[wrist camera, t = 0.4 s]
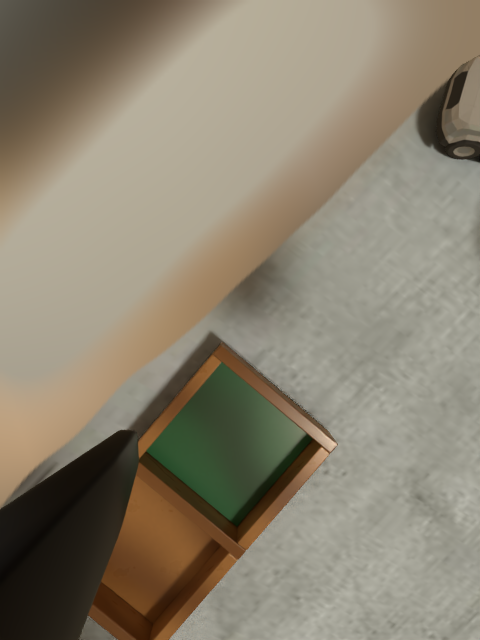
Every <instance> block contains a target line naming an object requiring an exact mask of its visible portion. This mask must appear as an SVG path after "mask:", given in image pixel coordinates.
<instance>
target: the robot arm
mask: <svg viewBox="0 0 480 640" xmlns="http://www.w3.org/2000/svg"><path fill="white" fill-rule="evenodd" d="M138 464H139V451H138V437H137V433H136V431H134V430H119V431H118V432H116V433H114V434H113V435H111V436H110V437H108V438H107V439H105V440H104V441H102V442H101V443H99V444H98V445H96V446H95V447H93V448H92V449H90V450H89V451H87V452H86V453H84V454H83V455H81V456H80V457H78V458H77V459H75V460H74V461H72V462H71V463H69V464H68V465H66V466H65V467H63V468H62V469H60V470H59V471H57V472H56V473H54V474H53V475H51V476H50V477H48V478H47V479H45V480H44V481H42V482H41V483H39V484H38V485H36V486H35V487H33V488H32V489H30V490H29V491H27V492H26V493H24V494H23V495H21V496H20V497H18V498H17V499H15V500H14V501H12V502H11V503H9V504H8V505H6V506H4V507H3V508H1V509H0V640H79V637H80V634H81V632H82V629H83V627H84V624H85V622H86V619H87V616H88V614H89V611H90V609H91V606H92V603H93V601H94V598H95V596H96V593H97V590H98V588H99V585H100V583H101V580H102V578H103V575H104V572H105V570H106V567H107V565H108V562H109V559H110V557H111V554H112V552H113V549H114V547H115V544H116V541H117V539H118V536H119V533H120V530H121V528H122V524H123V521H124V517H125V514H126V510H127V506H128V503H129V499H130V495H131V491H132V488H133V484H134V480H135V477H136V473H137V469H138Z"/></svg>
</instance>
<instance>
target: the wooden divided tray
mask: <svg viewBox="0 0 480 640" xmlns="http://www.w3.org/2000/svg"><path fill="white" fill-rule="evenodd" d="M337 445H338V444H337V442H336V441H335V440H334V438H333V437H332V436H331V434H330V433H329V432H328V431H327V430H326V429H325V428H324V427H322V426H321V425H320V424H319V423H318V422H317V421H315V420H314V419H313V418H312V417H311V416H309V415H308V414H307V413H306V412H305V411H304V410H302V409H301V408H300V407H299V406H298V405H296V404H295V403H294V402H293V401H292V400H291V399H289V398H288V397H287V396H286V395H285V394H283V393H282V392H281V391H280V390H279V389H278V388H276V387H275V386H274V385H273V384H272V383H270V382H269V381H268V380H267V379H266V378H265V377H263V376H262V375H261V374H260V373H259V372H257V371H256V370H255V369H254V368H253V367H252V366H250V365H249V364H248V363H247V362H246V361H244V360H243V359H242V358H241V357H240V356H239V355H237V354H236V353H235V352H234V351H233V350H232V349H230V348H229V347H228V346H227V345H226V344H224V343H223V342H221V343H220V345H219V346H218V347H217V348H216V349H215V350H214V352H213V353H212V354H211V355H210V356H209V358H208V359H207V360H206V361H205V362H204V363H203V365H202V366H201V367H200V368H199V369H198V370H197V372H196V373H195V374H194V375H193V376H192V378H191V379H190V380H189V381H188V382H187V383H186V385H185V386H184V387H183V388H182V389H181V390H180V392H179V393H178V394H177V395H176V396H175V397H174V399H173V400H172V401H171V402H170V403H169V405H168V406H167V407H166V408H165V409H164V410H163V412H162V413H161V414H160V415H159V416H158V417H157V419H156V420H155V421H154V422H153V423H152V424H151V426H150V427H149V428H148V429H147V430H146V432H145V433H144V434H143V435H142V436H141V437H140V439H139V440H138V451H139V464H138V469H137V473H136V477H135V480H134V484H133V488H132V491H131V495H130V499H129V503H128V506H127V510H126V514H125V517H124V521H123V524H122V528H121V530H120V533H119V536H118V539H117V541H116V544H115V547H114V549H113V552H112V554H111V557H110V559H109V562H108V565H107V567H106V570H105V572H104V575H103V578H102V580H101V583H100V585H99V588H98V590H97V593H96V596H95V598H94V601H93V603H92V606H91V609H90V611H89V614H88V616H89V617H91V618H92V619H93V620H94V621H96V622H97V623H98V624H99V625H101V626H102V627H103V628H104V629H106V630H107V631H108V632H109V633H110V634H112V635H113V636H114V637H115V638H117V639H118V640H169V639H170V637H171V636H172V635H173V634H174V633H175V632H176V630H177V629H178V628H179V627H180V626H181V625H182V624H183V622H184V621H185V620H186V619H187V618H188V617H189V616H190V614H191V613H192V612H193V611H194V610H195V609H196V607H197V606H198V605H199V604H200V603H201V602H202V601H203V599H204V598H205V597H206V596H207V595H208V594H209V592H210V591H211V590H212V589H213V588H214V587H215V586H216V584H217V583H218V582H219V581H220V580H221V579H222V578H223V576H224V575H225V574H226V573H227V572H228V571H229V569H230V568H231V567H232V566H233V565H234V564H235V563H236V561H237V560H238V559H239V558H240V557H241V556H242V555H243V554H244V553H245V551H246V550H247V549H248V548H249V547H250V545H251V544H252V543H253V542H254V541H255V540H256V539H257V537H258V536H259V535H260V534H261V533H262V532H263V530H264V529H265V528H266V527H267V526H268V525H269V524H270V522H271V521H272V520H273V519H274V518H275V517H276V516H277V514H278V513H279V512H280V511H281V510H282V509H283V507H284V506H285V505H286V504H287V503H288V502H289V501H290V499H291V498H292V497H293V496H294V495H295V494H296V492H297V491H298V490H299V489H300V488H301V487H302V486H303V484H304V483H305V482H306V481H307V480H308V479H309V478H310V476H311V475H312V474H313V473H314V472H315V471H316V469H317V468H318V467H319V466H320V465H321V464H322V463H323V461H324V460H325V459H326V458H327V457H328V456H329V454H330V453H331V452H332V451H333V450H334V449H335V447H336V446H337Z"/></svg>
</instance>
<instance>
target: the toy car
mask: <svg viewBox="0 0 480 640" xmlns="http://www.w3.org/2000/svg"><path fill="white" fill-rule="evenodd" d="M436 132H437V136H438V140H439V144H441V145H443V146H444V147H446V149H445V150H446V152H447V154H448V155H449V156H451V157H453V158H457V159H470V158H473V157H476V156H478V155H480V55H478V56H477V57H475V58H473V59H472V60H470V61H468V62H466V63H465V64H463V65H461V66H460V67H459V68H458V69H457V70H456V71H455V73H453V75H452V76H451V78H450V79H449V81H448V83H447V86H446V90H445V93H444V97H443V100H442V104H441V107H440V111H439V114H438V118H437V129H436ZM479 158H480V157H479Z"/></svg>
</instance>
